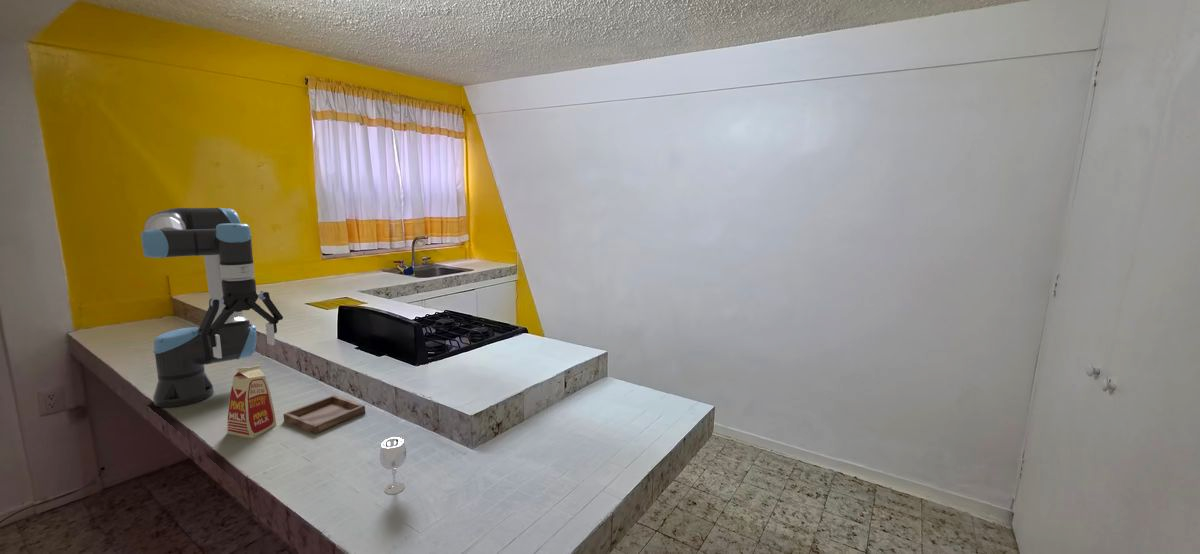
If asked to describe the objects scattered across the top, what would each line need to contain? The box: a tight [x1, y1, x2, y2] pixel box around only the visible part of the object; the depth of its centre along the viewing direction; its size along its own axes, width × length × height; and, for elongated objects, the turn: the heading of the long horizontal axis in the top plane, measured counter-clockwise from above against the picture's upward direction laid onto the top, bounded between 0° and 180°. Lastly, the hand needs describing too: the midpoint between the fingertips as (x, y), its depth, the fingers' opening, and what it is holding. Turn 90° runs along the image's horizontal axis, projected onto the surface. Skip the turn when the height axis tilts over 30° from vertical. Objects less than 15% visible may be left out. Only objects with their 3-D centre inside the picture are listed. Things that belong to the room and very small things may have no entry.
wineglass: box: [379, 437, 407, 495], centre depth 109 cm, size 6×6×12 cm
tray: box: [282, 394, 366, 435], centre depth 144 cm, size 16×16×2 cm
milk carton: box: [226, 364, 277, 439], centre depth 134 cm, size 9×9×20 cm
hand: (245, 350), depth 132 cm, fingers open, 13 cm apart
